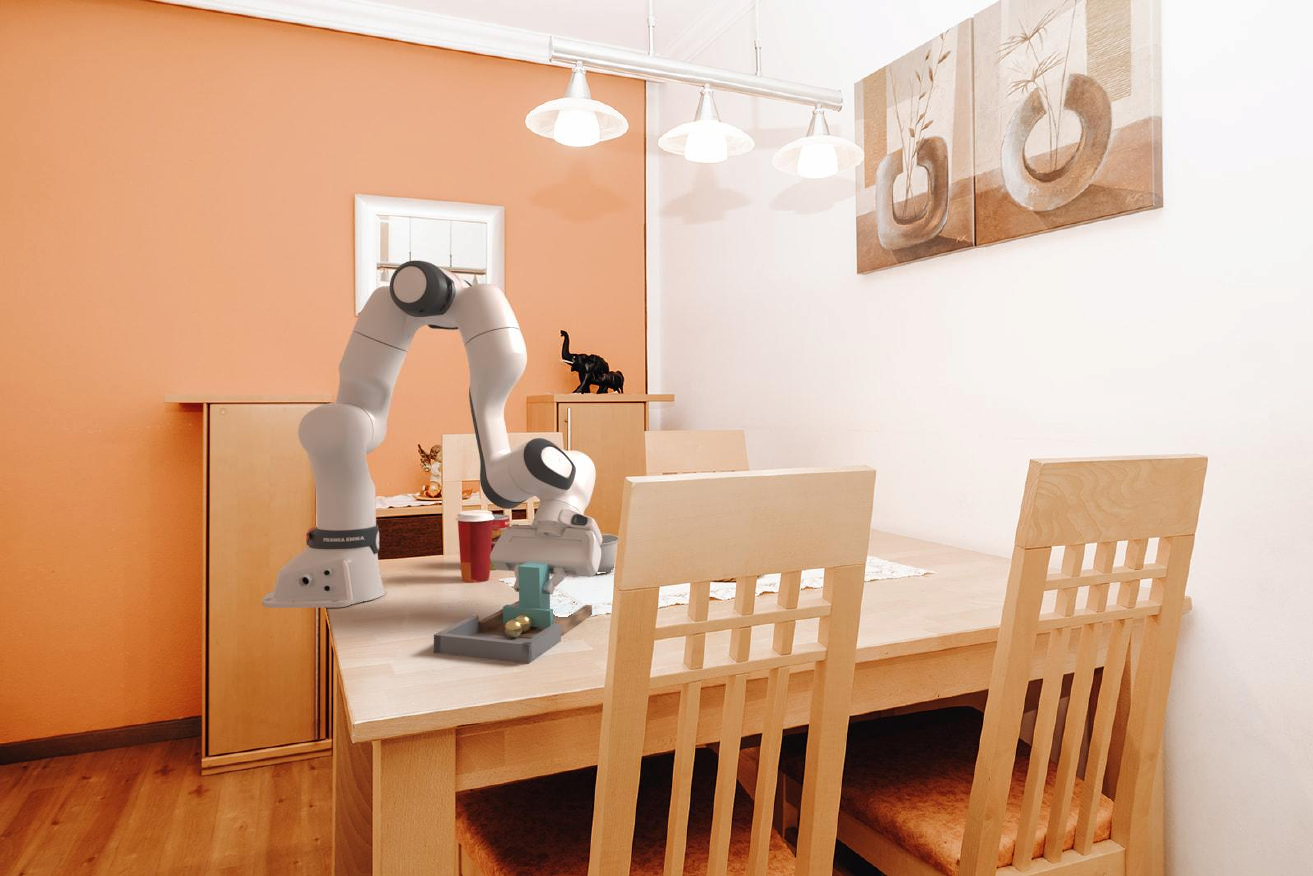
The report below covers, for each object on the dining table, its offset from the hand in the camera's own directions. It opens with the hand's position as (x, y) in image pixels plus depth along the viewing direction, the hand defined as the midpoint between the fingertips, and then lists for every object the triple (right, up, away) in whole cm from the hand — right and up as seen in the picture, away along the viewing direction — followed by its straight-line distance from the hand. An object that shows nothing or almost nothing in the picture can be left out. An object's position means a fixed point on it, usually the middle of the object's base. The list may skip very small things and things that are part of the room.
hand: (532, 591), depth 135 cm
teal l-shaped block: (0, -5, +1) cm, 5 cm away
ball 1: (-2, -4, -6) cm, 7 cm away
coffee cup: (-19, -5, +37) cm, 41 cm away
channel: (0, -6, +2) cm, 7 cm away
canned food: (-18, -4, +50) cm, 53 cm away
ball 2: (-1, -3, -3) cm, 5 cm away
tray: (-4, -7, -11) cm, 14 cm away
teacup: (+7, -5, +46) cm, 47 cm away
